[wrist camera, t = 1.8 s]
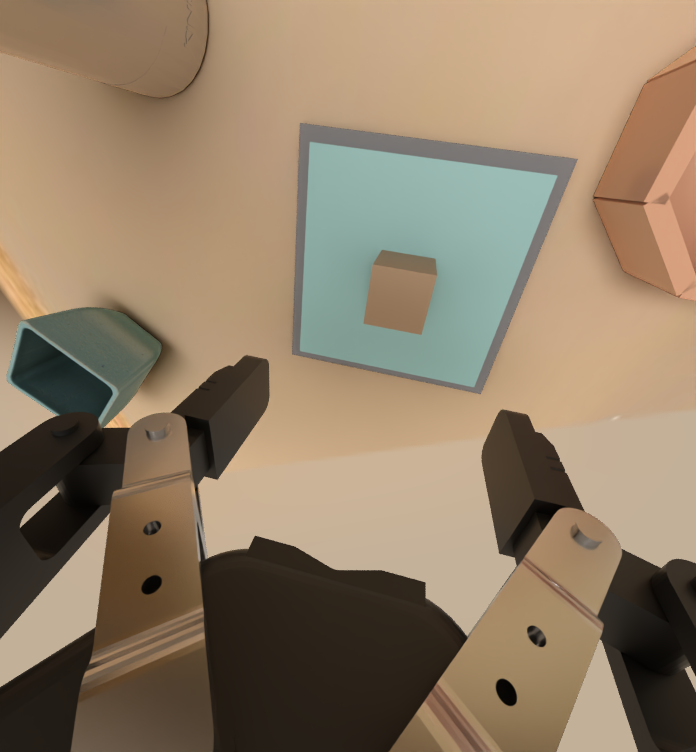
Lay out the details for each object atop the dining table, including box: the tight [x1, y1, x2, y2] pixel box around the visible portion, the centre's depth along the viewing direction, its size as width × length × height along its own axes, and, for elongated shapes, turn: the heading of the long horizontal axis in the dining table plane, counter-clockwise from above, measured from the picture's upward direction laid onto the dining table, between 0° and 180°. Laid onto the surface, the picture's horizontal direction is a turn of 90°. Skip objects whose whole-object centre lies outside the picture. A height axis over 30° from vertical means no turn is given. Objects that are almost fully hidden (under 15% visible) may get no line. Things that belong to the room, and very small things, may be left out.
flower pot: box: [7, 307, 162, 428], centre depth 32 cm, size 9×9×9 cm
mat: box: [292, 123, 578, 394], centre depth 26 cm, size 18×18×1 cm
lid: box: [300, 142, 557, 387], centre depth 24 cm, size 16×16×6 cm
